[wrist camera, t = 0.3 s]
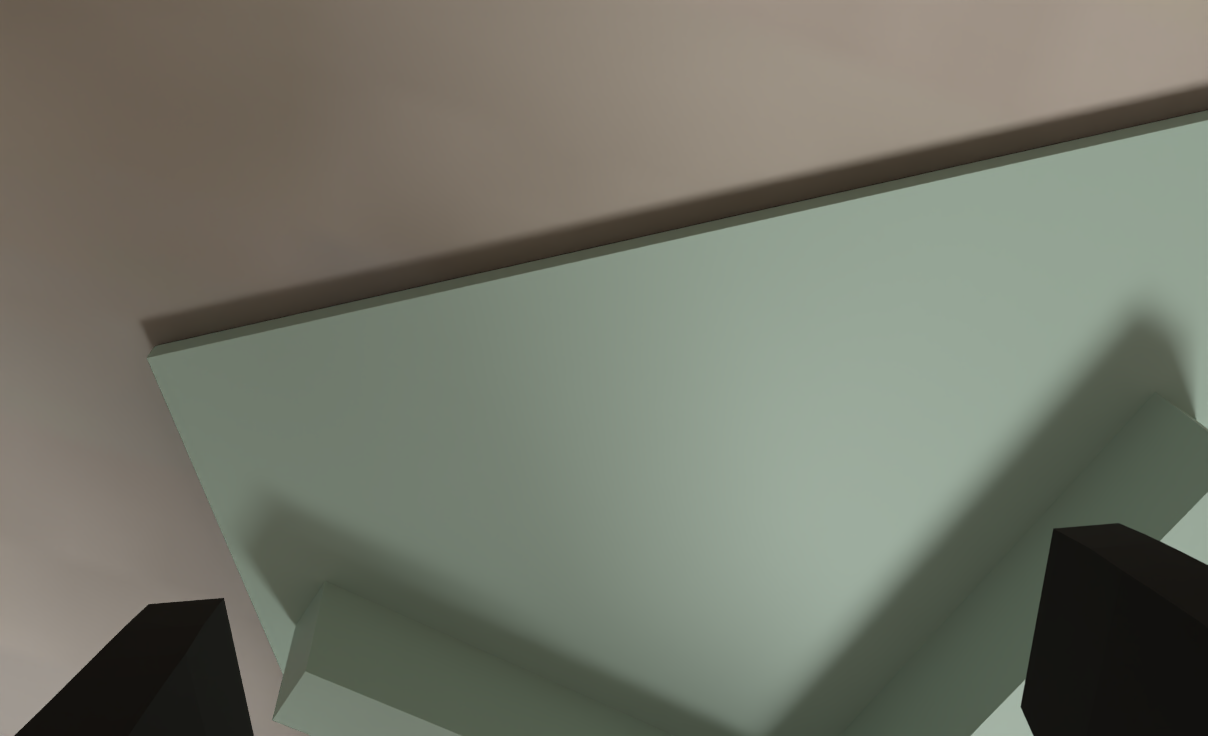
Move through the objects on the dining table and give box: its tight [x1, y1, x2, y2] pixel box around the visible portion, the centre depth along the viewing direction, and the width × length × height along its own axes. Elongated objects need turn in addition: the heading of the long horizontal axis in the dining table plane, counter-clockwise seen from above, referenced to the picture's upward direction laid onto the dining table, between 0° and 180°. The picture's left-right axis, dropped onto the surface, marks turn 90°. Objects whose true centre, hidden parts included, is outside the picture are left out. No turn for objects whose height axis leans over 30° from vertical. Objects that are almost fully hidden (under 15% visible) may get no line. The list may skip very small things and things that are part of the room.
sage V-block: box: [147, 110, 1208, 736], centre depth 20 cm, size 16×19×3 cm
